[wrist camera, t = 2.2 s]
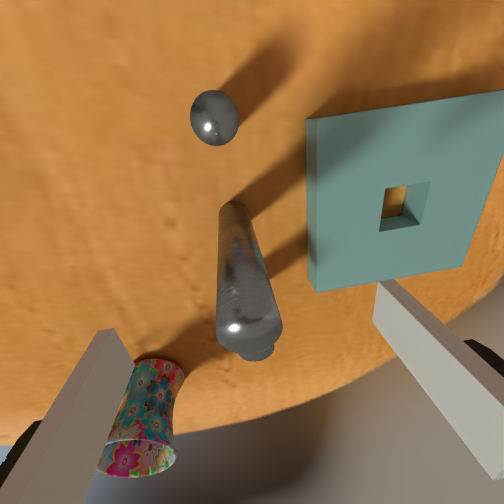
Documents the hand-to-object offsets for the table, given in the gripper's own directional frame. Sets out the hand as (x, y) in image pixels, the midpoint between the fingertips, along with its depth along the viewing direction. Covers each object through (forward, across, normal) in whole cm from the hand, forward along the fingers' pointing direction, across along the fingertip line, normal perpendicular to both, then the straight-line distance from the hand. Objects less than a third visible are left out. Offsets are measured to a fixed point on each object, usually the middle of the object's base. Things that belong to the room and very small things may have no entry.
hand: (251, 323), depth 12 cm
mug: (+16, -17, -22) cm, 32 cm away
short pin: (+15, 0, +10) cm, 18 cm away
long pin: (+15, 0, 0) cm, 15 cm away
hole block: (+15, +17, 0) cm, 23 cm away
